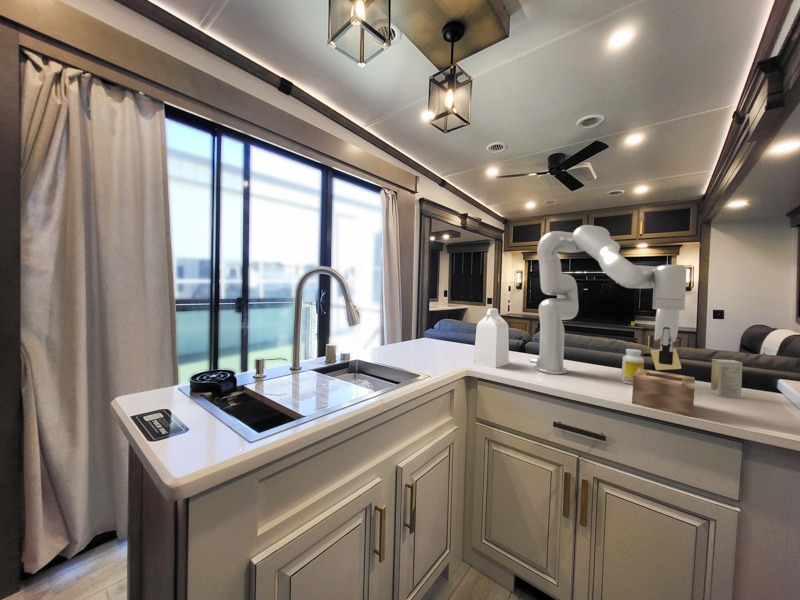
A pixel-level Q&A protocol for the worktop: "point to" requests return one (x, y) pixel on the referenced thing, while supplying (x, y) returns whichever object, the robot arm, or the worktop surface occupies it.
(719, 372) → the skincare box
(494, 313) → the milk
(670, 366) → the token
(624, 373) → the supplement bottle
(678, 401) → the box
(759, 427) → the worktop surface
